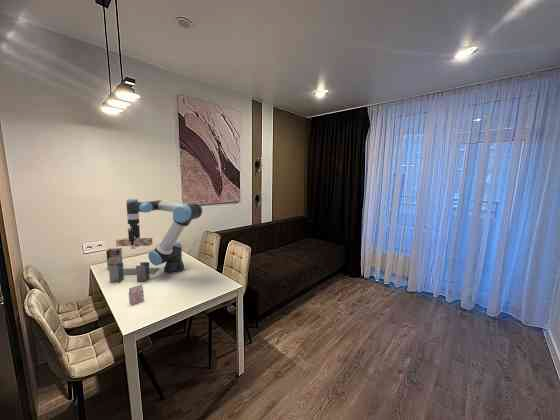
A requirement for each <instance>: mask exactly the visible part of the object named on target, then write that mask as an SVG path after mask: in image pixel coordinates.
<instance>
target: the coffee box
mask: <svg viewBox="0 0 560 420" xmlns="http://www.w3.org/2000/svg"><path fill="white" fill-rule="evenodd" d="M122 248H123V247H122ZM122 248H121V247H120V248H117V247H116V248H108V249H107V250H106V252H105V253H106V263H107V264H106V265H107V268H108V266H114V263H123V251H122V250H123V249H122Z"/></svg>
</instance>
